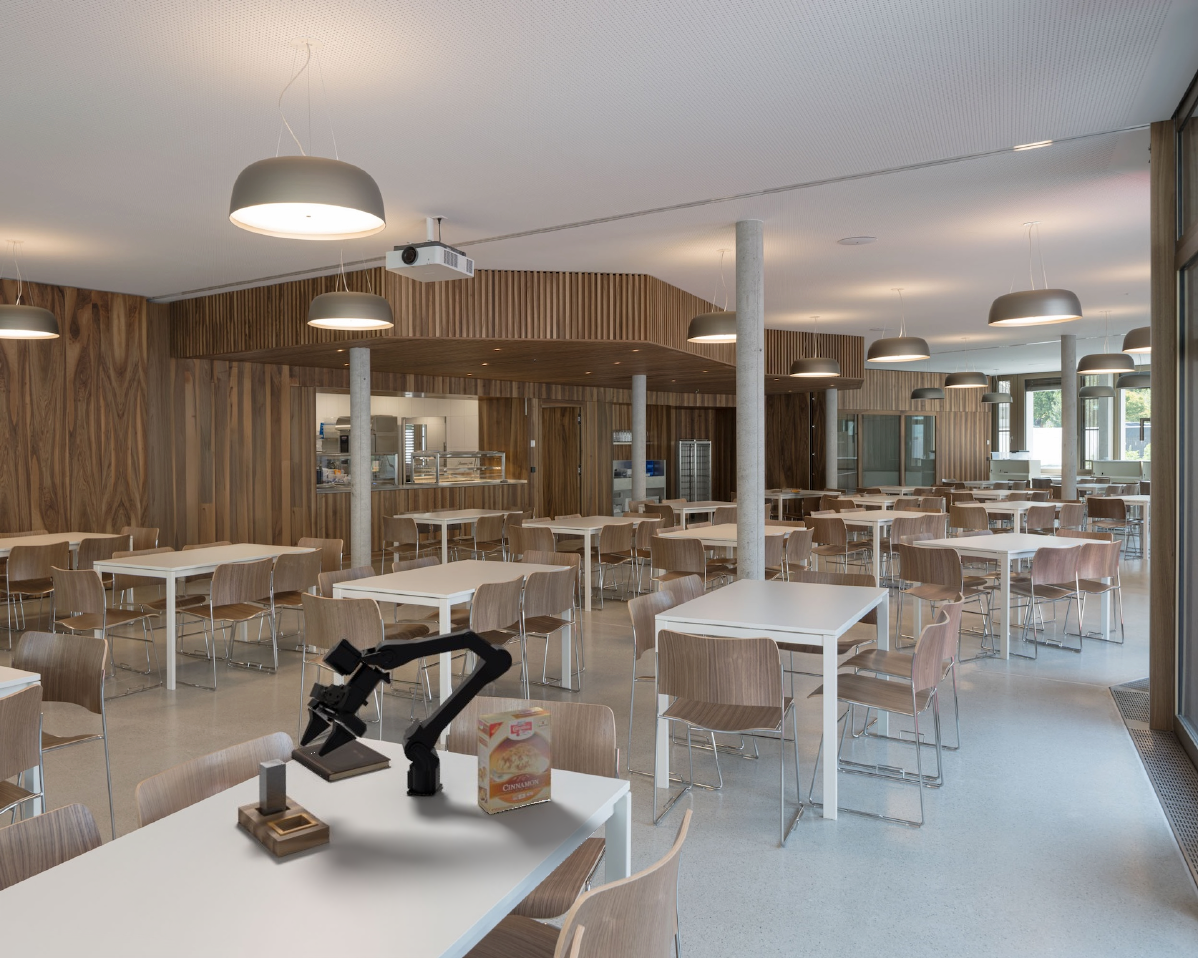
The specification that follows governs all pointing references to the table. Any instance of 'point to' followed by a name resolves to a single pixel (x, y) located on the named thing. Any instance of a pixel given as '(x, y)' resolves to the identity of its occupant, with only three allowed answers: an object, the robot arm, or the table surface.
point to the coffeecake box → (514, 759)
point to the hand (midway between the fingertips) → (310, 750)
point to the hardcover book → (341, 760)
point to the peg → (272, 787)
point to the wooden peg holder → (284, 828)
